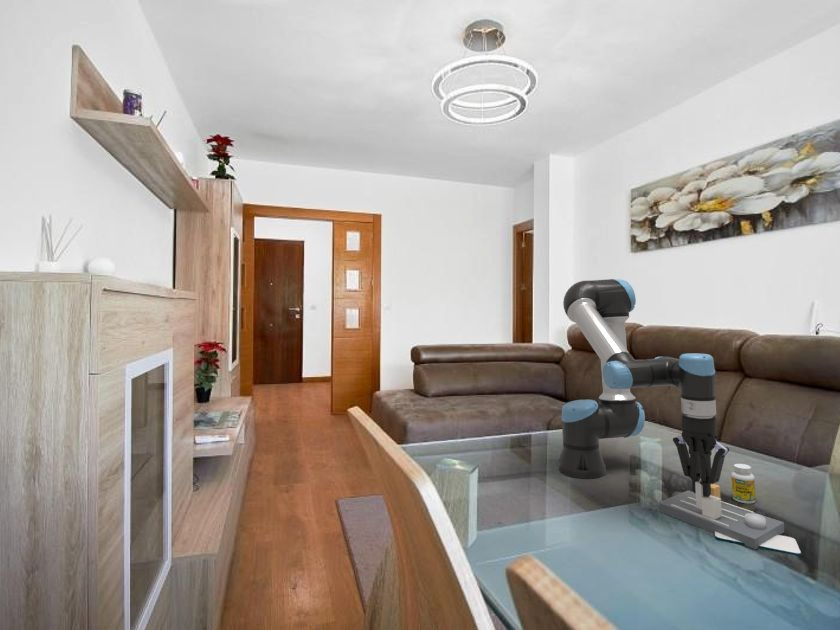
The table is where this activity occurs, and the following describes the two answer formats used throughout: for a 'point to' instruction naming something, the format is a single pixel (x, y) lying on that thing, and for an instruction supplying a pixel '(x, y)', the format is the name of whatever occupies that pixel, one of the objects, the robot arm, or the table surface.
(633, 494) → the table surface
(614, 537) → the table surface
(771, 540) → the smartphone
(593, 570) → the table surface
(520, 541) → the table surface
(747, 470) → the supplement bottle
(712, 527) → the console
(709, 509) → the slider ivory
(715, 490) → the slider orange
